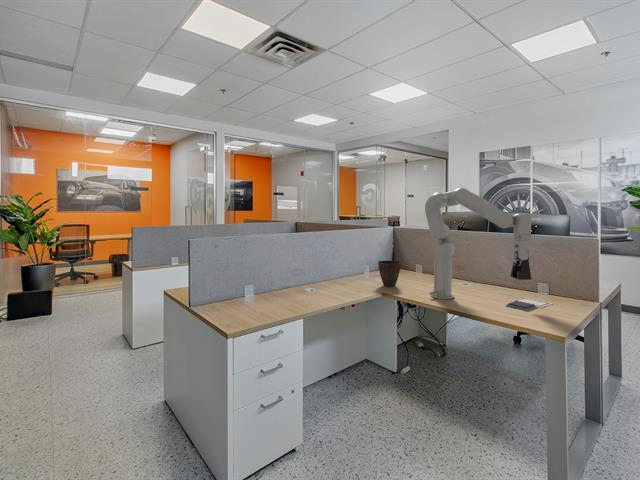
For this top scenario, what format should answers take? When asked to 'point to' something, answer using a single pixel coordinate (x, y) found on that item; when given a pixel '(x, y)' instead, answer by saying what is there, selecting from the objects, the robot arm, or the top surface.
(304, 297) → the top surface
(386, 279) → the plant pot
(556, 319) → the top surface
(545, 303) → the print sheet
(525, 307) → the ink pad
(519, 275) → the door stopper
